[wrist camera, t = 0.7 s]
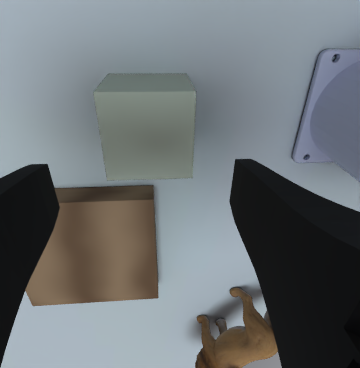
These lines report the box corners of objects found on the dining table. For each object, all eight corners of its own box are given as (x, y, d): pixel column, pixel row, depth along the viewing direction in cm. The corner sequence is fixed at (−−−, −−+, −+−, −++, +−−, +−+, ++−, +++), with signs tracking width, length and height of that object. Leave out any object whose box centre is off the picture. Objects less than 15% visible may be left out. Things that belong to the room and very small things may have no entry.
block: (186, 73, 17) (196, 91, 13) (184, 144, 20) (192, 178, 16) (108, 73, 17) (93, 92, 13) (117, 145, 20) (107, 180, 15)
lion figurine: (213, 340, 35) (229, 429, 28) (179, 332, 34) (186, 424, 26) (287, 274, 29) (334, 365, 22) (250, 260, 27) (286, 353, 20)
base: (153, 185, 22) (153, 199, 20) (158, 281, 28) (158, 298, 26) (-1, 190, 21) (-15, 205, 19) (40, 288, 27) (32, 306, 25)
